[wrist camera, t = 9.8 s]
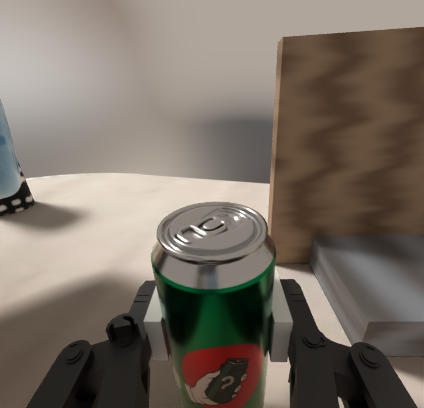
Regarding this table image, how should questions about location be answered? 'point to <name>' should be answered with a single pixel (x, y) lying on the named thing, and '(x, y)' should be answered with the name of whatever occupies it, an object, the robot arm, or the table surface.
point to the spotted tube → (17, 199)
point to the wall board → (354, 178)
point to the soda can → (216, 302)
